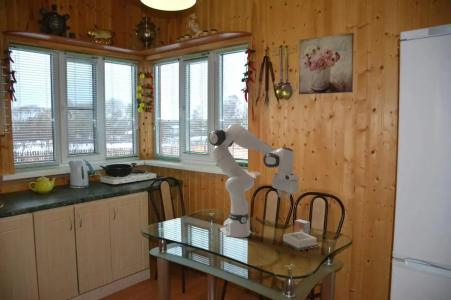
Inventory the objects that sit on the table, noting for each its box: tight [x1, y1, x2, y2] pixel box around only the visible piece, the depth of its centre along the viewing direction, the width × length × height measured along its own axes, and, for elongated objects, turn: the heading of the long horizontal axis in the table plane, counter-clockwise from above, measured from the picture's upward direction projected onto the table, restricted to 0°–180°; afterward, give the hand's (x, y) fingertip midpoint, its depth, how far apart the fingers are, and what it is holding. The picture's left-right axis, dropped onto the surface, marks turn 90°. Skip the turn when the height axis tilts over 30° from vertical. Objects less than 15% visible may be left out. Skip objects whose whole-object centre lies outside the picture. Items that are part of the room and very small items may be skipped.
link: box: [282, 232, 318, 248], centre depth 207 cm, size 14×14×4 cm
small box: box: [293, 218, 311, 235], centre depth 223 cm, size 8×6×10 cm
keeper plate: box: [283, 232, 319, 251], centre depth 206 cm, size 14×14×8 cm
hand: (283, 198), depth 202 cm, fingers open, 5 cm apart
